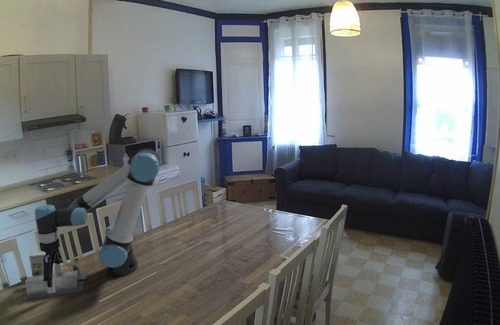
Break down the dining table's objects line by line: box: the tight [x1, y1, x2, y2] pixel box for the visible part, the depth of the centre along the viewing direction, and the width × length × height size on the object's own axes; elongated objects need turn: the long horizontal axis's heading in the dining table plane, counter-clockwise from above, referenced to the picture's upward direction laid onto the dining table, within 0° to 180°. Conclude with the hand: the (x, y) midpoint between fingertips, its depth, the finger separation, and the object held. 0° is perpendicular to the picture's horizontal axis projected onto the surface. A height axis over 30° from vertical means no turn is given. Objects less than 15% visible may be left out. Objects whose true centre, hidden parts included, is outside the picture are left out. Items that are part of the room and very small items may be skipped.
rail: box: [24, 270, 79, 297], centre depth 152 cm, size 20×4×7 cm, turn 105°
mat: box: [25, 280, 86, 301], centre depth 153 cm, size 22×8×1 cm, turn 105°
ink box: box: [28, 250, 55, 276], centre depth 165 cm, size 8×5×12 cm, turn 105°
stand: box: [31, 256, 89, 282], centre depth 159 cm, size 24×6×10 cm, turn 105°
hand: (55, 284), depth 152 cm, fingers open, 12 cm apart
